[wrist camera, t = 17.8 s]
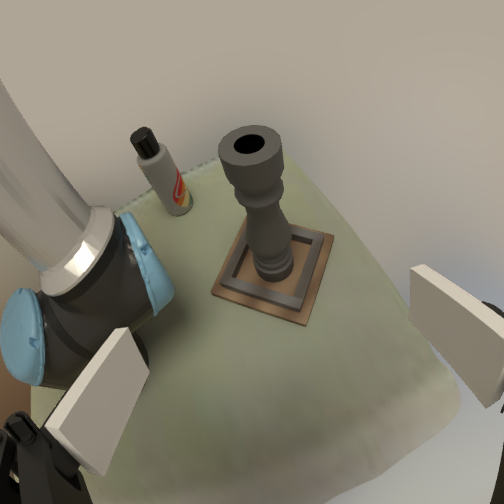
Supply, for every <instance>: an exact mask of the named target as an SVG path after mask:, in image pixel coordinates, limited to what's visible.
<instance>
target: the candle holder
mask: <svg viewBox="0 0 504 504" xmlns="http://www.w3.org/2000/svg"><path fill="white" fill-rule="evenodd" d="M281 144H282V143H281V139H280V135H279V134H278V133H276V131H275V130H273V129H271V128H269V127H266V126H258V125H251V126H244V127H241V128H238V129H236V130H233V131H231V132H230V133H228V134H227V135H226V136H225V137H223V139H222V140H221V142H220V143H219V145H218V154H219V157H220V160H221V163H222V166H223V169H224V172H225V175H226V177H227V179H228V180H229V182H230V184H232V185H233V186H234V187H235V197H236V199H237V200H238V202H239V204H241V205H242V206H244V207H245V208H246V212H247V222H246V232H245V233H246V242H247V244H248V246H249V248H250V249H251V250H252V251H253V263H254V266H255V269H256V271H257V273H258V275H259V276H260V277H261V278H262V279H264V280H265V281H268V282H272V283H274V282H281V281H282V280H284V279H286V278H287V277H288V276H289V275H290V274H291V273H292V270H293V266H294V262H293V252H292V249H291V246H290V241H291V238H292V234H291V227H290V225H289V223H288V221H287V220H286V218H285V216H284V214H283V212H282V210H281V208H280V206H279V200H280V199H281V197H282V194H283V191H284V186H283V181H282V180H281V178H280V177H281V175H282V172H283V170H284V162H283V153H282V145H281Z"/></svg>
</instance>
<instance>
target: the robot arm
mask: <svg viewBox="0 0 504 504" xmlns="http://www.w3.org/2000/svg"><path fill="white" fill-rule="evenodd" d="M0 234H1V235H2V236H3V237H4V238H5V239H6V240H7V241H8V242H9V243H10V244H11V245H12V246H13V247H14V248H15V249H16V250H17V251H18V252H19V253H20V254H21V255H22V256H23V257H25V259H27V260H28V261H29V262H30V263H31V264H32V265H33V266H35V268H37V269H38V275H39V284H40V287H41V290H40V291H39V292H38V293H35V292H34V291H33V290H31V289H24V288H20V289H18V290H16V291H15V292H14V293H13V294H12V295H11V296H10V298H9V300H8V302H7V304H6V306H5V310H4V312H3V316H2V321H1V328H0V345H1V351H2V356H3V360H4V362H5V364H6V367H7V369H8V371H9V372H10V373H11V375H13V376H14V377H15V378H16V379H18V380H19V381H22V382H25V383H28V384H31V385H32V386H36V387H37V386H42V387H48V388H54V389H60V390H67V391H66V392H65V393H64V395H63V396H62V398H61V401H59V402H58V403H57V405H56V407H55V408H54V409H53V410H52V412H51V413H50V415H49V416H48V418H47V419H46V421H45V422H44V424H43V425H42V427H41V428H40V429H39V428H38V427H37V426H36V424H35V423H34V422H33V421H32V420H31V418H30V417H29V416H28V414H27V413H25V412H24V411H19V412H15V413H14V414H12V415H11V416H10V417H9V418H8V419H7V420H6V421H5V423H4V428H5V430H6V431H7V432H8V433H9V434H8V433H7V432H6V431H4V430H1V429H0V504H93V503H92V500H91V498H90V495H89V492H88V490H87V487H86V484H85V481H84V478H83V475H82V474H81V472H80V471H79V470H78V468H79V466H80V465H81V466H82V467H83V468H85V469H86V470H87V471H88V472H89V473H91V474H95V475H99V476H103V477H105V474H106V472H107V469H108V467H109V464H110V462H111V459H112V457H113V455H114V452H115V450H116V447H117V445H118V443H119V440H120V438H121V436H122V433H123V431H124V429H125V426H126V424H127V422H128V420H129V417H130V415H131V413H132V410H133V408H134V406H135V404H136V402H137V399H138V397H139V395H140V393H141V391H142V389H143V387H144V385H145V383H146V380H147V378H148V375H149V373H150V371H149V370H148V357H147V352H146V349H145V347H144V344H143V342H142V341H141V339H140V338H139V336H138V335H137V334H136V333H135V331H136V330H138V329H139V328H140V327H141V326H143V325H144V324H145V323H147V322H148V321H149V320H150V319H152V318H153V317H155V316H156V315H157V314H158V312H159V311H160V310H161V309H162V308H163V307H164V306H166V305H167V304H168V303H169V302H170V301H171V300H172V298H173V296H174V294H175V286H174V283H173V282H172V280H171V278H170V277H169V275H168V273H167V272H166V270H165V268H164V267H163V265H162V263H161V262H160V260H159V259H158V257H157V255H156V254H155V252H154V250H153V249H152V247H151V245H150V244H149V242H148V240H147V239H146V237H145V235H144V233H143V232H142V230H141V228H140V227H139V225H138V223H137V221H136V220H135V218H134V216H133V215H132V213H130V212H126V213H124V214H120V215H119V217H118V218H117V217H116V216H115V214H114V213H113V212H112V211H111V210H110V209H109V208H108V207H106V206H89V205H88V204H87V203H86V202H85V201H84V200H83V199H82V197H81V196H80V195H79V193H78V192H77V191H76V190H75V189H74V188H73V186H72V185H71V184H70V182H69V181H68V180H67V178H66V177H65V176H64V174H63V173H62V172H61V171H60V169H59V168H58V167H57V165H56V164H55V163H54V161H53V160H52V159H51V157H50V156H49V154H48V153H47V152H46V150H45V149H44V147H43V146H42V145H41V143H40V142H39V140H38V139H37V137H36V136H35V134H34V133H33V131H32V130H31V128H30V127H29V126H28V124H27V123H26V121H25V119H24V118H23V116H22V115H21V113H20V112H19V110H18V108H17V107H16V105H15V103H14V102H13V100H12V98H11V97H10V95H9V94H8V92H7V90H6V88H5V86H4V85H3V83H2V81H1V79H0ZM409 320H410V321H411V322H412V323H413V325H414V326H415V327H416V328H417V329H418V330H419V331H420V332H421V333H422V334H423V335H424V336H425V338H426V339H427V340H428V341H429V342H430V343H431V344H432V345H433V346H434V347H435V349H436V350H437V351H438V352H439V353H440V354H441V355H442V357H443V358H444V359H445V360H446V361H447V362H448V363H449V365H451V367H452V368H453V369H454V370H455V372H456V373H457V374H458V375H459V376H460V377H461V379H462V380H463V381H464V382H465V384H466V385H467V386H468V387H469V388H470V390H471V391H472V392H473V393H474V394H475V396H476V397H477V398H478V400H479V401H480V402H481V403H482V404H483V406H484V407H485V408H488V407H489V406H491V405H492V404H494V403H495V402H496V401H498V400H499V399H500V398H501V396H502V394H503V392H504V312H502V311H501V310H500V309H499V308H497V307H496V306H495V305H492V304H490V303H486V302H484V301H482V302H480V301H479V300H477V299H476V298H474V297H473V296H471V295H470V294H469V293H467V292H466V291H464V290H463V289H461V288H460V287H458V286H457V285H455V284H454V283H452V282H451V281H449V280H447V279H446V278H444V277H443V276H441V275H440V274H438V273H436V272H435V271H433V270H432V269H430V268H429V267H427V266H425V265H424V264H422V265H419V266H416V267H412V268H410V315H409ZM503 411H504V405H503V407H502V409H501V413H503ZM10 436H11V437H12V438H13V439H12V438H11V437H10ZM10 471H12V472H13V473H14V474H15V475H16V476H17V477H18V478H19V483H17V482H16V481H15V480H13V479H12V478H11V477H10V476H9V474H10ZM490 504H504V444H503V451H502V456H501V462H500V467H499V472H498V476H497V480H496V485H495V488H494V492H493V495H492V499H491V502H490Z"/></svg>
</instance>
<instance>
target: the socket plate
mask: <svg viewBox="0 0 504 504" xmlns="http://www.w3.org/2000/svg"><path fill="white" fill-rule="evenodd" d="M246 222H247V216H246V218H245V220H244V222H243V224H242V226H241V228H240V230H239V233H238V235H237V237H236V239H235V241H234V243H233V245H232V247H231V249H230V251H229V254H228V256H227V258H226V260H225V262H224V264H223V266H222V268H221V271H220V273H219V275H218V277H217V279H216V281H215V284H214V286H213V288H212V290H211V294H212V295H215V296H217V297H220V298H223V299H225V300H228V301H231V302H234V303H237V304H239V305H242V306H245V307H248V308H251V309H254V310H257V311H260V312H263V313H265V314H268V315H271V316H274V317H277V318H280V319H283V320H287V321H290V322H293V323H296V324H299V325H302V326H305V327H306V325H307V322H308V319H309V316H310V313H311V310H312V307H313V304H314V301H315V298H316V295H317V292H318V289H319V286H320V283H321V279H322V276H323V273H324V270H325V266H326V263H327V260H328V256H329V253H330V250H331V246H332V243H333V239H334V235H331V234H327V233H324V232H320V231H316V230H312V229H309V228H305V227H301V226H297V225H293V224H289V225H290V227H291V234H292V238H291V241H290V246H291V249H292V252H293V262H294V266H293V270H292V273H291V274H290V275H289V276H288V277H287V278H286V279H284V280H282V281H281V282H274V283H272V282H268V281H265V280H264V279H262V278H261V277H260V276H259V275H258V273H257V271H256V269H255V266H254V263H253V251H252V250H251V249H250V248H249V246H248V244H247V242H246V233H245V232H246Z"/></svg>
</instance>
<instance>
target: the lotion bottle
mask: <svg viewBox="0 0 504 504" xmlns="http://www.w3.org/2000/svg"><path fill="white" fill-rule="evenodd" d="M130 141H131V143H132V144H133V146H134V148H135V150H136V151H137V153H138V157H137V163H138V165H139V167H140V169H141V170H142V172H143V173H144V175H145V177H146V178H147V180H148V181H149V183H150V184H151V186H152V187H153V189H154V190H155V192H156V194H157V195H158V197H159V198H160V200H161V201H162V203H163V204H164V206H165V207H166V209H167V210H168V211H169V213H170V214H172V215H174V216H180V215H183V214H185V213H187V212H188V211H189V210H190V209H191V207H192V205H193V199H192V197H191V194H190V192H189V190H188V189H187V187H186V185H185V183H184V181H183V179H182V177H181V175H180V173H179V171H178V169H177V167H176V165H175V163H174V161H173V159H172V157H171V155H170V153H169V151H168V150H167V147H166V146H165V145H164V144H161V143H158V142H157V140H156V138H155V136H154V134H153V132H152V130H151V129H150V128H147V127H142V128H139V129H138V130H137V131H135V132H134V133H133V134H132V135H131V137H130Z"/></svg>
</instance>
